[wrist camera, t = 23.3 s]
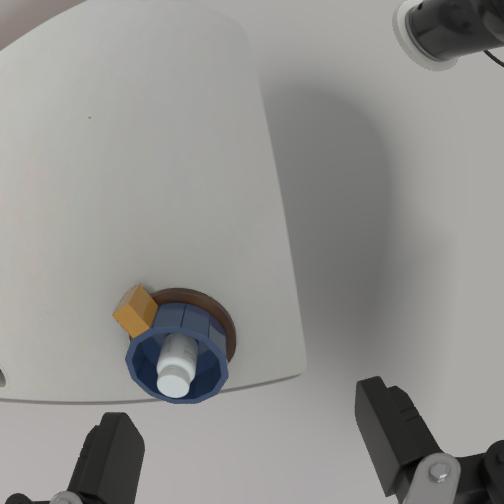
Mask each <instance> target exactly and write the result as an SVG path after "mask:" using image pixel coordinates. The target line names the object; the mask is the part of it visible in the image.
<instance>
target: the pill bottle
mask: <svg viewBox="0 0 504 504" xmlns="http://www.w3.org/2000/svg"><path fill="white" fill-rule="evenodd" d="M197 353H198V345H197V342H196V340H195V339H194V338H192V337H189V336H187V335H184V334H182V333H171V334H169V335H168V336H166V338H165V339H164V341H163V345H162V349H161V352H160V356H159V360H158V363H157V373H158V380H157V387H158V389H159V391H160V392H161V393H163V394H164V395H166V396H169V397H173V398H179V397H183V396H185V395H186V394H187V393H188V391H189V386H190V382H191V381H192V380H193V379H194V377H195V372H196V363H197Z"/></svg>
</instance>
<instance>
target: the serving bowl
mask: <svg viewBox="0 0 504 504" xmlns="http://www.w3.org/2000/svg"><path fill="white" fill-rule="evenodd" d="M112 316H113V317H114V318H115V319H116V320H117V321H118V322H119V324H120V325H121V326H122V327H123V328H124V329H125V330H126V331H127V332H128V334H129V335H130V336H131V337H132V340H131V343H130V346H129V348H128V351H127V354H126V357H125V360H126V363H127V366H128V369H129V372H130V375H131V378H132V379H133V381H135V382H136V383H137V384H138V385H139V386H140V387H141V388H142V389H143V390H144V391H145V392H147V393H148V394H150V395H151V396H153V397H156V398H158V399H161V400H164V401H167V402H169V403H173V404H196V403H199V402H202V401H204V400H206V399H208V398H210V397H213V396H215V395H217V394H218V393H219V391H220V389H221V388H222V386H223V385H224V383H225V382H226V380H227V379H228V349H227V340H226V333H225V331H224V330H223V328H222V326H221V325H220V323H219V322H218V321H217V320H216V319H215V318H214V317H213V316H212V315H211V314H210V313H208V312H206V311H205V310H203V309H201V308H199V307H196V306H194V305H190V304H186V303H167V304H163V305H159V306H158V305H157V303H156V302H155V301H154V300H153V299H152V297H151V296H150V295H149V294H148V293H147V291H146V290H145V289H144V288H143V286H142V285H141V284H138V285H137V286H135V287H134V288H133V289H131V290H130V291H128V292H127V293H126V294H125V295H124V296H123V298H122V299H121V301H120V303H119V304H118V306H117V307H116V309H115V311H114V312H113V314H112ZM171 333H182V334H184V335H187V336H189V337H192V338H194V339H195V340H196V342H197V345H198V353H197V363H196V372H195V377H194V379H193V380H192V381H191V382H190V386H189V391H188V393H187V394H186V395H185V396H183V397H179V398H173V397H169V396H166V395H164V394H163V393H161V392H160V391H159V389H158V387H157V380H158V373H157V363H158V360H159V356H160V352H161V349H162V345H163V341H164V339H165V338H166V336H168V335H169V334H171Z"/></svg>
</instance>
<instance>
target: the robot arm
mask: <svg viewBox="0 0 504 504" xmlns="http://www.w3.org/2000/svg"><path fill="white" fill-rule="evenodd" d="M405 26H406V30H407V33H408V35H409V37H410V39H411V41H412V42H413V44H414V45H415V46H416V48H417V49H418V50H419V51H420V52H421V53H423V54H424V55H425V56H426V57H428V58H430V59H432V60H434V61H438V62H444V61H448V60H451V59H453V58H456V57H460V56H464V55H468V54H472V53H476V52H480V51H484V52H485V53H486V54H487V55H488V56H489V57H490V58H491V59H493V60H494V61H495V62H496V63H498V64H499V65H501V66H502V67H504V63H503V62H501V61H500V60H499V59H497V58H496V57H495V56H493V55H492V54H491V53H490V52H489V51H488V50H489V49H493V48H498V47H503V46H504V0H425V1H422V3H421V2H420V3H419V4H418V5H415V6H414V7H412V8H410V9H409V10H408V11H407V13H406V16H405ZM355 417H356V422H357V425H358V427H359V430H360V432H361V435H362V437H363V440H364V442H365V445H366V447H367V450H368V452H369V455H370V457H371V460H372V462H373V465H374V467H375V470H376V473H377V475H378V478H379V480H380V483H381V485H382V488H383V491H384V493H385V496H386V497H388V496H391V495H393V494H396V497H397V499H398V504H504V440H500V441H497V442H495V443H494V444H492V445H491V446H490V447H489V449H488V450H487V451H486V453H481V454H477V455H472V456H467V457H453V456H452V455H450V454H446V453H444V452H443V451H442V450H441V449H440V447H439V446H438V444H437V443H436V441H435V439H434V437H433V436H432V434H431V432H430V431H429V429H428V427H427V425H426V424H425V422H424V420H423V419H422V417H421V416H420V415H419V412H418V410H417V409H416V407H414V404H413V402H412V401H411V399H410V397H409V396H408V394H407V393H406V392H404V391H403V390H401V389H400V388H398V387H397V386H393V387H390V388H387V387H386V386H385V384H384V382H383V380H382V379H381V377H379V376H375V377H372V378H368V379H365V380H361V381H358V382H357V386H356V399H355ZM144 452H145V445H144V440H143V438H142V436H141V435H140V433H139V432H138V430H137V428H136V427H135V425H134V424H133V422H132V421H131V419H130V418H129V416H128V415H127V414H126V413H123V412H121V413H120V412H116V413H115V412H106V413H105V414H104V415H103V417H102V420H101V423H100V425H99V426H97V425H95V427H94V428H93V429H92V430H91V431H90V433H88V435H87V437H86V439H85V442H84V444H83V448H82V450H81V452H80V457H79V458H78V461H77V463H76V466H75V469H74V472H73V475H72V478H71V480H70V484H69V486H68V489H67V491H63V492H59V493H57V494H56V495H55V496H54V497H53V498H52V499H51V501H34V502H33V501H31V500H30V499H29V498H28V497H27V496H25V495H24V494H20V493H17V494H13V495H11V496H10V497H9V498H8V499H7V501H6V503H5V504H134V502H135V496H136V491H137V486H138V481H139V476H140V471H141V466H142V462H143V457H144Z"/></svg>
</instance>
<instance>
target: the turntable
mask: <svg viewBox="0 0 504 504" xmlns="http://www.w3.org/2000/svg"><path fill="white" fill-rule="evenodd" d="M150 296H151V297H152V299H153V300H154V301H155V302H156V303H157V305H158V306H159V305H163V304H167V303H186V304H190V305H194V306H196V307H199V308H201V309H203V310H205V311H206V312H208V313H210V314H211V315H212V316H213V317H214V318H215V319H216V320H217V321H218V322H219V323H220V325H221V326H222V328H223V330H224V331H225V333H226V340H227V349H228V363H229V362H230V361H231V359H232V357H233V355H234V352H235V348H236V331H235V326H234V323H233V321H232V319H231V317H230V315H229V314H228V312H227V311H226V310H225V309H224V307H223V306H222V305H220V304H219V303H218V302H217V301H216V300H214V299H213V298H211V297H209V296H208V295H206V294H203V293H201V292H198V291H195V290H191V289H185V288H170V289H165V290H161V291H158V292H155V293H153V294H151V295H150ZM129 338H130V342H131V340H132V337H131V336H130V335H129Z"/></svg>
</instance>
